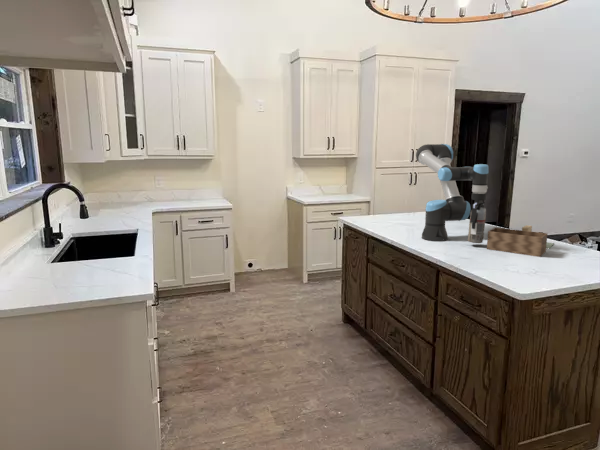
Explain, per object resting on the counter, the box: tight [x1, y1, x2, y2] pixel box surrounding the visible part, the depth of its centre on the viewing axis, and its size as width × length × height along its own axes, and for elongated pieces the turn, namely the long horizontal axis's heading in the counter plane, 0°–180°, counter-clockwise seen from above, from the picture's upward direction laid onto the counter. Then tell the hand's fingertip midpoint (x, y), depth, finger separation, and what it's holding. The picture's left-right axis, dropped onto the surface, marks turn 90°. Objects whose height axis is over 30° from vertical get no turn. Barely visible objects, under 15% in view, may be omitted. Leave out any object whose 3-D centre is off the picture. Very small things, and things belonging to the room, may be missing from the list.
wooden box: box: [486, 227, 548, 258], centre depth 221 cm, size 26×12×10 cm, turn 49°
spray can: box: [467, 207, 487, 244], centre depth 231 cm, size 8×8×20 cm
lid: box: [521, 224, 555, 249], centre depth 237 cm, size 26×12×10 cm, turn 47°
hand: (476, 232), depth 232 cm, fingers closed on spray can, 8 cm apart
